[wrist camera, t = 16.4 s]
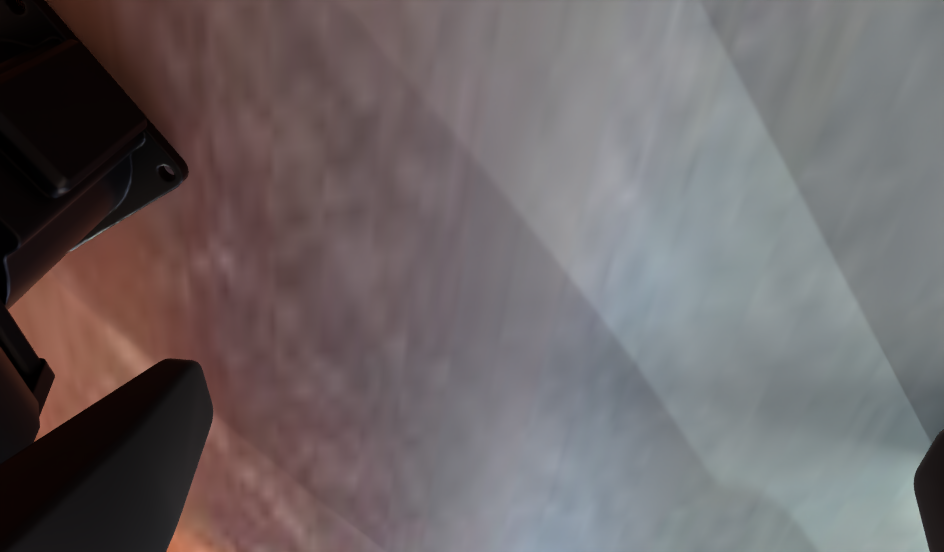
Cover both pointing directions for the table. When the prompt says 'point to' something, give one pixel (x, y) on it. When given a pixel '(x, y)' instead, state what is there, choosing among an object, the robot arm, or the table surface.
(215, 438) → the table surface
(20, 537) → the robot arm
